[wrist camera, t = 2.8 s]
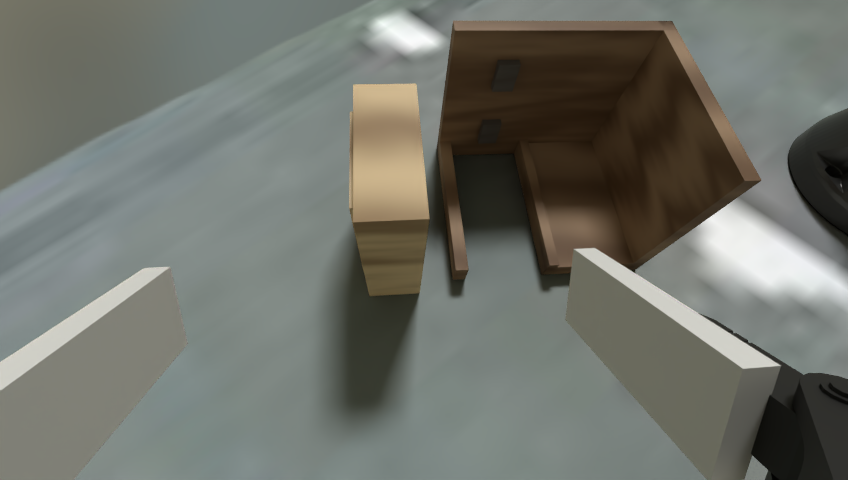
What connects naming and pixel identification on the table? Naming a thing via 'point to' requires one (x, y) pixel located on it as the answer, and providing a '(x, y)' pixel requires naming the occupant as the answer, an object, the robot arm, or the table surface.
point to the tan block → (388, 187)
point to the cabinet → (590, 134)
